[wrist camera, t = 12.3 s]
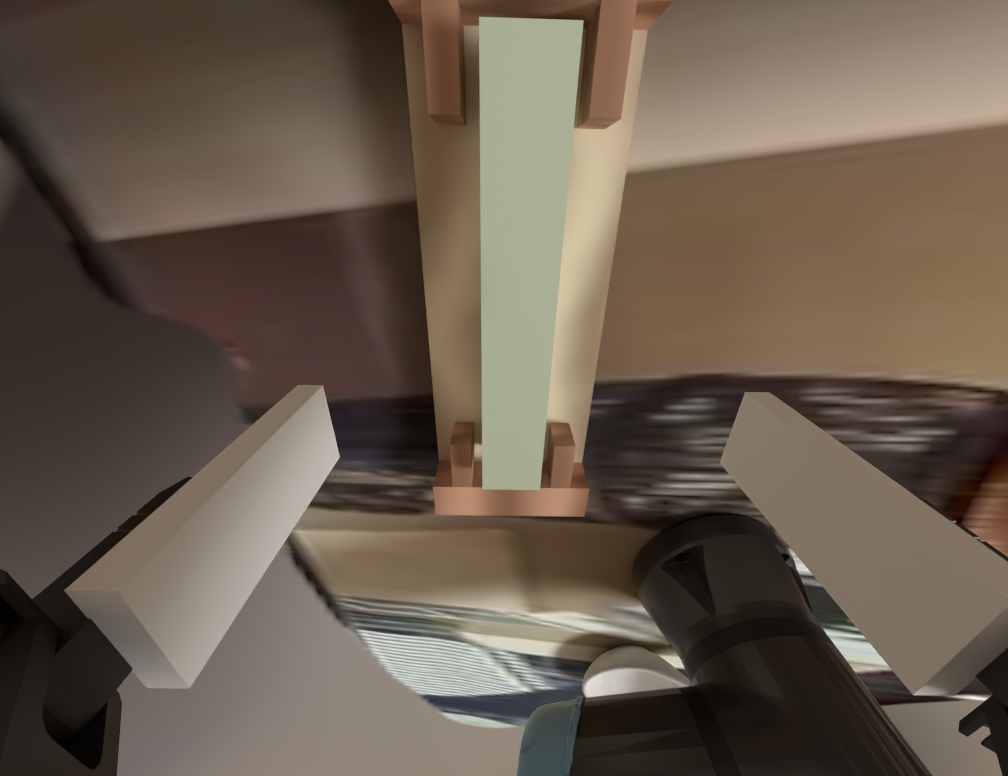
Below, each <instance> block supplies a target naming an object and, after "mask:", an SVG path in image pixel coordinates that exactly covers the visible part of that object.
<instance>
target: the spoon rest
mask: <svg viewBox="0 0 1008 776" xmlns="http://www.w3.org/2000/svg"><path fill="white" fill-rule="evenodd" d="M688 686H691V683H690V680H689V679H688V678H687V677H685V676H684V675H683V674H682V673H680V672H679V671H678V670H677V669H675V668H674V667H673V666H672V665H670V664H669V663H668V662H667V661H665V660H664V659H662V658H661V657H660V656H658V655H656V654H654V653H652V652H650V651H648V650H647V649H645V648H643V647H640V646H634V645H626V646H620V647H616V648H613V649H611V650H609V651H607V652H605V653H603V654H601V655H600V656H599V657H598V658H596V659H595V660H594V661H593V663H592V664H591V665H590V666H589V668H588V670H587V671H586V673H585V676H584V679H583V682H582V690H583V693H584V695H585V696H586V697H595V696H604V695H613V694H622V693H631V692H640V691H649V690H658V689H667V688H679V687H688Z"/></svg>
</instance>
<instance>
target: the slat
mask: <svg viewBox="0 0 1008 776" xmlns="http://www.w3.org/2000/svg"><path fill="white" fill-rule="evenodd" d="M583 22H584V20H561V19H530V18H500V17H479V74H480V215H481V356H482V489H491V490H540V485H541V474H542V463H543V452H544V442H545V431H546V420H547V409H548V399H549V388H550V377H551V366H552V356H553V345H554V334H555V323H556V312H557V302H558V291H559V280H560V269H561V259H562V248H563V237H564V226H565V216H566V205H567V194H568V183H569V173H570V162H571V151H572V140H573V129H574V119H575V108H576V97H577V86H578V76H579V65H580V54H581V43H582V33H583Z"/></svg>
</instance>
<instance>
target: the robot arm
mask: <svg viewBox="0 0 1008 776" xmlns="http://www.w3.org/2000/svg"><path fill="white" fill-rule="evenodd" d="M339 457H340V456H339V452H338V448H337V443H336V439H335V435H334V431H333V426H332V422H331V418H330V414H329V410H328V405H327V401H326V397H325V393H324V388H323V385H297V386H296V387H295V388H294V389H293V390H292V391H291V392H289V393H288V394H287V395H286V396H285V397H284V398H283V399H281V400H280V401H279V402H278V403H277V404H276V405H275V406H273V407H272V408H271V409H270V410H269V411H268V412H267V413H266V414H264V415H263V416H262V417H261V418H260V419H259V420H258V421H256V422H255V423H254V424H253V425H252V426H251V427H250V428H248V429H247V430H246V431H245V432H244V433H243V434H242V435H241V436H239V437H238V438H237V439H236V440H235V441H234V442H233V443H232V444H230V445H229V446H228V447H227V448H226V449H225V450H223V451H222V452H221V453H220V454H219V455H218V456H217V457H216V458H214V459H213V460H212V461H211V462H210V463H209V464H208V465H206V466H205V467H204V468H203V469H202V470H201V471H200V472H198V473H197V474H196V475H195V476H194V477H187V478H185V479H183V480H181V481H180V482H178V483H176V484H174V485H173V486H171V487H169V488H167V489H165V490H164V491H162V492H160V493H159V494H157V495H156V496H155V497H154V498H153V499H152V500H151V501H149V502H148V503H147V504H146V505H144V506H143V507H142V508H141V509H140V510H139V511H137V515H136V516H131V517H130V518H129V519H128V520H127V521H125V522H124V523H123V524H122V525H121V526H119V527H118V531H117V532H112V533H111V534H110V535H109V536H108V537H106V538H105V539H104V540H103V541H102V542H100V543H99V544H98V545H97V546H95V547H94V548H93V549H92V550H91V551H90V552H89V553H87V554H86V555H85V556H84V557H82V558H81V559H80V560H79V561H78V562H77V563H75V564H74V565H73V566H72V567H70V568H69V569H68V570H67V571H66V572H64V573H63V574H62V575H61V576H60V577H59V578H57V579H56V580H55V581H54V582H53V583H51V584H50V585H49V586H48V587H47V588H45V589H44V590H43V591H42V592H41V593H40V594H38V595H37V596H36V597H35V598H34V599H31V598H30V597H29V596H28V595H27V594H26V593H25V591H24V590H23V589H22V588H21V587H20V586H19V585H18V584H17V583H16V582H15V581H14V580H13V579H12V577H11V576H10V575H9V574H8V573H7V572H5V571H3V570H1V569H0V776H117V763H118V750H119V734H120V722H121V708H122V703H121V699H120V695H119V693H118V692H117V690H116V689H117V688H118V687H119V685H120V684H121V683H122V682H123V681H124V679H125V678H126V677H127V676H128V674H129V673H130V672H131V671H133V672H134V673H135V675H136V676H137V677H138V678H139V679H140V681H141V682H142V683H143V684H144V685H145V686H146V688H190V687H191V685H192V684H193V682H194V681H195V679H196V678H197V676H198V675H199V673H200V672H201V670H202V669H203V667H204V665H205V664H206V662H207V661H208V659H209V658H210V656H211V655H212V653H213V652H214V650H215V648H216V647H217V645H218V644H219V642H220V641H221V639H222V638H223V636H224V635H225V633H226V632H227V630H228V628H229V627H230V625H231V624H232V622H233V621H234V619H235V618H236V616H237V614H238V613H239V612H240V610H241V608H242V606H243V605H244V604H245V602H246V601H247V599H248V598H249V596H250V595H251V593H252V591H253V590H254V588H255V587H256V585H257V584H258V582H259V581H260V579H261V578H262V576H263V575H264V573H265V571H266V570H267V568H268V567H269V565H270V564H271V562H272V561H273V559H274V557H275V556H276V554H277V553H278V551H279V550H280V548H281V547H282V545H283V544H284V542H285V541H286V539H287V538H288V536H289V534H290V533H291V531H292V530H293V528H294V527H295V525H296V524H297V522H298V521H299V519H300V518H301V516H302V514H303V513H304V511H305V510H306V508H307V507H308V505H309V504H310V502H311V501H312V499H313V498H314V496H315V494H316V493H317V491H318V490H319V488H320V487H321V485H322V484H323V482H324V481H325V479H326V477H327V476H328V474H329V473H330V471H331V470H332V468H333V467H334V465H335V464H336V462H337V461H338V459H339ZM720 464H721V465H722V466H723V467H724V468H725V470H726V471H727V472H728V473H729V474H730V476H731V477H732V478H733V479H734V480H735V482H736V483H737V484H738V485H739V486H740V488H741V489H742V490H743V491H744V492H745V494H746V495H747V496H748V497H749V498H750V500H751V501H752V502H753V503H754V504H755V506H756V507H757V508H758V509H759V510H760V512H761V513H762V514H763V515H764V516H765V518H766V519H767V520H768V521H769V522H770V524H771V525H772V526H773V527H774V528H775V530H776V531H777V532H778V533H779V534H780V536H781V537H782V538H783V539H784V540H785V542H786V543H787V544H788V545H789V546H790V548H791V549H792V550H793V551H794V552H795V554H796V555H797V556H798V557H799V558H800V560H801V561H802V562H803V563H804V564H805V566H806V567H807V568H808V569H809V570H810V572H811V573H812V574H813V575H814V577H815V578H816V579H817V580H818V581H819V583H820V584H821V585H822V586H823V587H824V589H825V590H826V591H827V592H828V593H829V595H830V596H831V597H832V598H833V599H834V601H835V602H836V603H837V604H838V605H839V607H840V608H841V609H842V610H843V611H844V613H845V614H846V615H847V616H848V617H849V619H850V620H851V621H852V622H853V623H854V625H855V626H856V627H857V628H858V629H859V631H860V632H861V633H862V634H863V635H864V637H865V638H866V639H867V640H868V641H869V643H870V644H871V645H872V646H873V647H874V649H875V650H876V651H877V652H878V653H879V655H880V656H881V657H882V658H883V659H884V661H885V662H886V663H887V664H888V665H889V667H890V668H891V669H892V670H893V671H894V673H895V674H896V675H897V676H898V677H899V679H900V680H901V681H902V682H903V683H904V685H905V686H906V687H907V688H908V689H909V691H910V692H911V693H912V694H913V695H956V694H957V693H958V692H959V691H961V690H962V689H963V688H964V687H965V686H966V685H968V684H969V683H970V682H971V681H972V680H973V679H975V678H976V677H977V678H978V679H979V680H980V681H981V682H982V683H983V684H984V685H985V686H986V687H987V688H988V689H989V690H990V691H991V692H992V693H993V695H992V696H991V697H990V698H988V699H987V700H986V701H984V702H983V703H982V704H981V705H980V706H978V707H977V708H976V709H974V710H973V711H972V712H971V713H969V714H968V715H967V716H966V717H964V718H963V719H962V720H960V721H959V732H960V733H962V734H964V735H965V736H969V735H971V734H972V733H973V732H975V731H976V730H978V729H979V728H980V727H981V726H986V727H989V728H990V732H991V734H990V735H989V736H988V737H986V738H985V739H984V740H983V741H982V742H981V745H983V746H985V747H986V748H988V749H990V750H992V751H994V752H995V753H996V754H997V757H998V760H999V764H1000V768H1001V771H1002V775H1003V776H1008V557H1007V556H1005V555H1004V554H1002V553H1001V552H1000V551H998V550H997V549H995V548H994V547H992V546H991V545H990V544H988V543H987V542H981V541H980V540H979V537H978V536H977V535H975V534H974V533H972V532H971V531H970V530H968V529H967V528H965V527H964V526H962V525H957V524H956V521H955V520H954V519H953V518H951V517H950V516H948V515H947V514H945V513H944V512H943V511H941V510H940V509H938V508H937V507H935V506H934V505H933V504H931V503H930V502H928V501H926V500H924V499H922V498H920V497H918V496H916V495H914V494H912V493H911V492H909V491H907V490H906V489H905V488H903V487H902V486H900V485H899V484H898V483H896V482H895V481H893V480H892V479H891V478H889V477H888V476H886V475H885V474H884V473H882V472H881V471H879V470H878V469H876V468H875V467H874V466H872V465H871V464H869V463H868V462H867V461H865V460H864V459H862V458H861V457H860V456H858V455H857V454H855V453H854V452H853V451H851V450H850V449H848V448H847V447H846V446H844V445H843V444H841V443H840V442H838V441H837V440H836V439H834V438H833V437H831V436H830V435H829V434H827V433H826V432H824V431H823V430H822V429H820V428H819V427H817V426H816V425H815V424H813V423H812V422H810V421H809V420H808V419H806V418H805V417H803V416H802V415H801V414H799V413H798V412H796V411H795V410H793V409H792V408H791V407H789V406H788V405H786V404H785V403H784V402H782V401H781V400H779V399H778V398H777V397H775V396H774V395H772V394H771V393H763V392H745V394H744V397H743V400H742V403H741V405H740V408H739V411H738V414H737V416H736V419H735V422H734V425H733V427H732V430H731V433H730V436H729V438H728V441H727V444H726V446H725V449H724V452H723V455H722V457H721V460H720ZM633 580H634V583H635V586H636V589H637V592H638V595H639V598H640V601H641V603H642V604H643V606H644V608H645V609H646V611H647V612H648V614H649V615H650V616H651V618H652V619H653V621H654V622H655V624H656V625H657V626H658V628H659V629H660V631H661V632H662V633H663V635H664V636H665V638H666V639H667V640H668V642H669V643H670V645H671V646H672V647H673V649H674V650H675V652H676V653H677V654H678V656H679V657H680V659H681V661H682V663H683V665H684V668H685V670H686V673H687V675H688V678H689V680H690V683H691V686H688V687H679V688H667V689H658V690H649V691H640V692H631V693H622V694H613V695H604V696H595V697H587V698H585V696H578V697H577V699H575V700H569V701H564V702H558V703H552V704H547V705H543V706H541V707H539V708H537V709H536V710H535V711H534V712H533V713H532V715H531V716H530V718H529V720H528V722H527V724H526V727H525V730H524V734H523V738H522V742H521V748H520V755H519V763H518V772H517V776H933V775H931V773H930V771H929V770H928V769H927V767H926V766H925V765H924V763H923V762H922V761H921V759H920V758H919V757H918V756H917V754H916V753H915V752H914V750H913V749H912V748H911V746H910V745H909V743H908V742H907V741H906V739H905V738H904V737H903V735H902V734H901V733H900V731H899V730H898V729H897V727H896V726H895V725H894V724H893V722H892V721H891V719H890V718H889V717H888V715H887V714H886V713H885V711H884V710H883V709H882V707H881V706H880V705H879V703H878V702H877V701H876V699H875V698H874V697H873V695H872V694H871V693H870V691H869V690H868V689H867V687H866V686H865V685H864V683H863V682H862V681H861V679H860V678H859V677H858V675H857V674H856V673H855V671H854V670H853V669H852V667H851V666H850V665H849V663H848V662H847V661H846V659H845V658H844V657H843V655H842V654H841V653H840V651H839V650H838V649H837V648H836V646H835V645H834V644H833V642H832V641H831V640H830V638H829V637H828V636H827V634H826V633H825V631H824V630H823V629H822V627H821V626H820V624H819V623H818V621H817V619H816V617H815V615H814V612H813V609H812V607H811V604H810V602H809V599H808V596H807V594H806V591H805V588H804V586H803V583H802V581H801V578H800V576H799V573H798V571H797V569H796V565H795V562H794V560H793V557H792V555H791V554H790V552H789V550H788V549H787V548H786V546H785V545H784V544H783V543H782V541H781V540H780V539H779V538H778V536H777V535H776V534H775V533H774V532H773V531H772V530H771V529H770V528H769V527H768V526H767V525H765V524H763V523H762V522H759V521H757V520H755V519H752V518H748V517H744V516H737V515H714V516H707V517H701V518H697V519H693V520H690V521H687V522H684V523H681V524H679V525H676V526H674V527H672V528H670V529H668V530H666V531H664V532H663V533H661V534H660V535H658V536H657V537H655V538H654V539H653V540H652V541H651V542H649V543H648V544H647V545H646V546H645V547H644V549H643V550H642V551H641V552H640V554H639V555H638V557H637V559H636V561H635V564H634V567H633Z"/></svg>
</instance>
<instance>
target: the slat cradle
mask: <svg viewBox="0 0 1008 776" xmlns="http://www.w3.org/2000/svg"><path fill="white" fill-rule="evenodd" d="M388 1H389V3H390V4H391V6H392V8H393V10H394V11H395V13H396V15H397V16H398V18H399V20H400V22H401V23H402V31H403V43H404V54H405V66H406V78H407V90H408V102H409V113H410V125H411V137H412V149H413V161H414V172H415V184H416V196H417V208H418V220H419V231H420V243H421V255H422V267H423V279H424V290H425V302H426V314H427V326H428V338H429V349H430V361H431V373H432V385H433V397H434V408H435V420H436V432H437V444H438V456H439V463H438V468H437V472H436V476H435V480H434V484H433V493H434V503H435V513H436V515H478V516H576V517H585V512H586V506H587V500H588V494H589V485H588V482H587V479H586V475H585V472H584V469H583V465H582V459H583V452H584V446H585V439H586V433H587V426H588V420H589V413H590V406H591V400H592V393H593V387H594V380H595V374H596V367H597V360H598V354H599V347H600V341H601V334H602V327H603V321H604V314H605V308H606V301H607V295H608V288H609V281H610V275H611V268H612V262H613V255H614V249H615V242H616V235H617V229H618V222H619V216H620V209H621V202H622V196H623V189H624V183H625V176H626V170H627V163H628V156H629V150H630V143H631V137H632V130H633V124H634V117H635V110H636V104H637V97H638V91H639V84H640V78H641V71H642V64H643V58H644V51H645V45H646V38H647V31H648V29H649V28H650V27H651V26H652V25H653V24H654V22H655V21H656V20H657V19H658V18H659V17H660V16H661V14H662V13H663V12H664V11H665V10H666V9H667V8H668V6H669V5H670V4H671V3H672V2H673V0H388ZM479 17H500V18H530V19H561V20H584V22H583V33H582V43H581V54H580V65H579V76H578V86H577V97H576V108H575V119H574V129H573V140H572V151H571V162H570V173H569V183H568V194H567V205H566V216H565V226H564V237H563V248H562V259H561V269H560V280H559V291H558V302H557V312H556V323H555V334H554V345H553V356H552V366H551V377H550V388H549V399H548V409H547V420H546V431H545V442H544V452H543V463H542V474H541V485H540V490H491V489H482V356H481V215H480V74H479Z"/></svg>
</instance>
